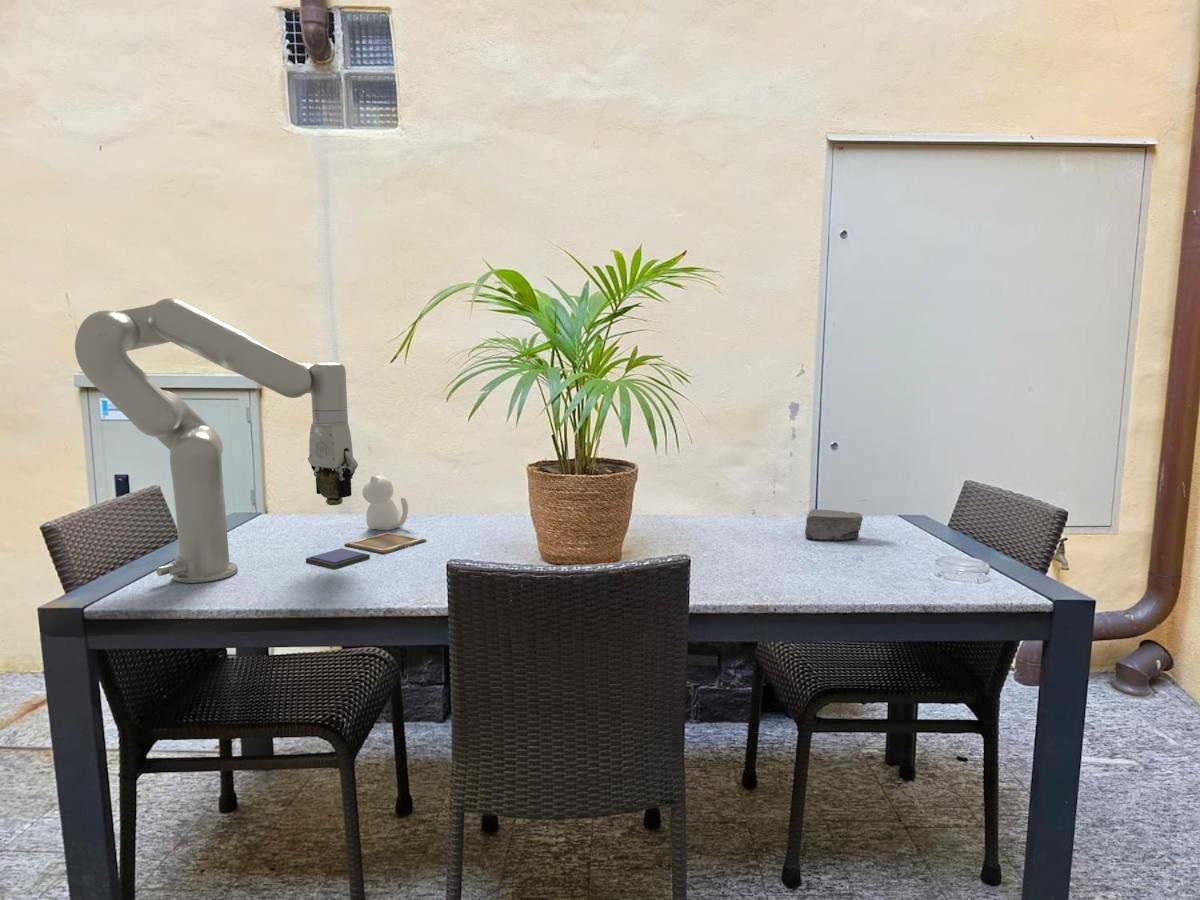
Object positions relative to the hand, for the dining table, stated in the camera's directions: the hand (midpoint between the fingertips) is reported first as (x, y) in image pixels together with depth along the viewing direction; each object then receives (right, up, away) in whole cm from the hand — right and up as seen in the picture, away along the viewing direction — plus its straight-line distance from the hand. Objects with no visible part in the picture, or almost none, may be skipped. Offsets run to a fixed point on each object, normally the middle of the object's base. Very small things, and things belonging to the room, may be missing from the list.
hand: (333, 494), depth 177 cm
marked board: (+7, -13, +17) cm, 23 cm away
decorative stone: (+120, -13, +21) cm, 123 cm away
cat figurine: (+3, -11, +32) cm, 34 cm away
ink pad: (0, -15, +2) cm, 16 cm away
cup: (0, -2, 0) cm, 3 cm away
